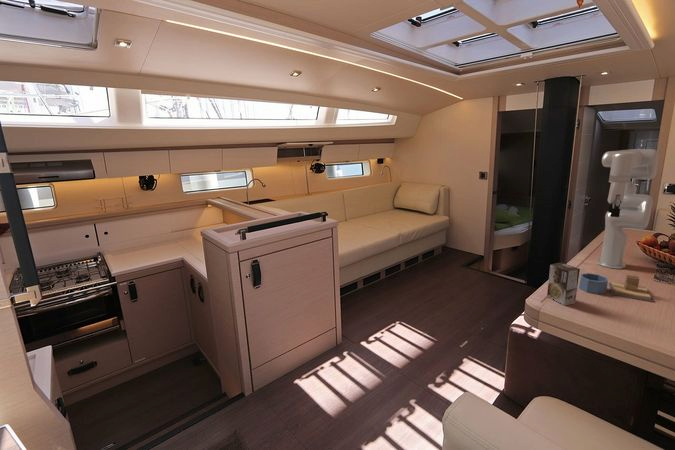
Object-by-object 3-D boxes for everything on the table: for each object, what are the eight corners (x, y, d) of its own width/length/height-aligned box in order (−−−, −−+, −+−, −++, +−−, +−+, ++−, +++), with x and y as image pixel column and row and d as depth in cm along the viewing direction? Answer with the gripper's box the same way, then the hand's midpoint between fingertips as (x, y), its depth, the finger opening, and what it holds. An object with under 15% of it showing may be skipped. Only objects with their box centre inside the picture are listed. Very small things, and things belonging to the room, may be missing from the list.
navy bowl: (578, 283, 161) (580, 271, 159) (604, 287, 155) (606, 275, 154) (579, 290, 153) (580, 279, 151) (606, 295, 147) (608, 283, 146)
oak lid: (611, 284, 157) (614, 270, 156) (645, 289, 151) (648, 274, 149) (614, 293, 148) (617, 278, 146) (650, 299, 141) (653, 284, 139)
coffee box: (575, 303, 141) (581, 268, 138) (564, 306, 140) (569, 271, 136) (556, 294, 150) (561, 261, 146) (545, 296, 148) (550, 263, 144)
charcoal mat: (608, 283, 159) (609, 282, 159) (647, 290, 151) (647, 289, 151) (611, 294, 148) (611, 293, 148) (653, 302, 140) (653, 301, 140)
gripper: (607, 177, 161) (602, 210, 166) (610, 181, 148) (605, 217, 152) (627, 177, 157) (621, 212, 161) (632, 181, 144) (626, 219, 148)
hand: (613, 214), depth 157 cm, fingers open, 9 cm apart
